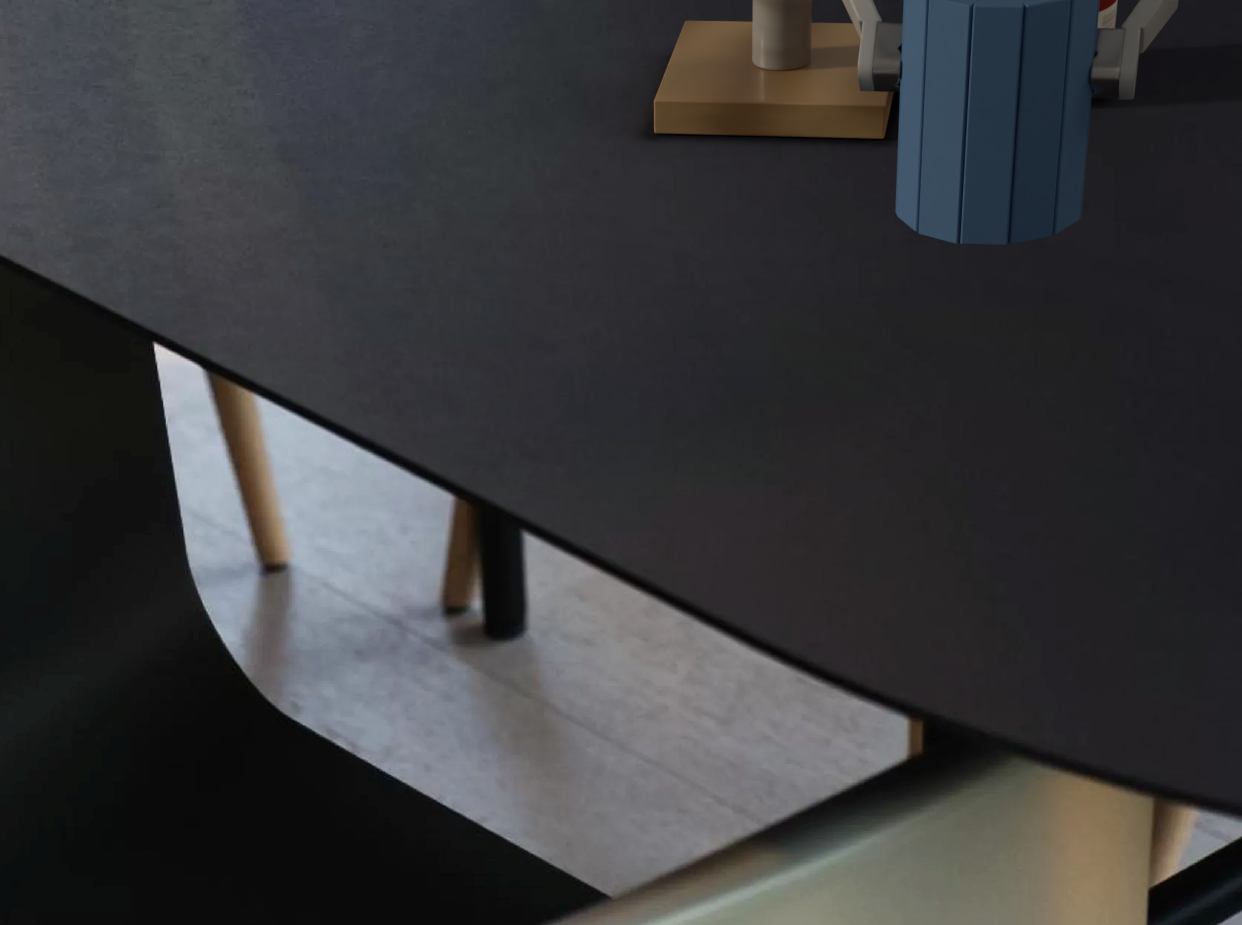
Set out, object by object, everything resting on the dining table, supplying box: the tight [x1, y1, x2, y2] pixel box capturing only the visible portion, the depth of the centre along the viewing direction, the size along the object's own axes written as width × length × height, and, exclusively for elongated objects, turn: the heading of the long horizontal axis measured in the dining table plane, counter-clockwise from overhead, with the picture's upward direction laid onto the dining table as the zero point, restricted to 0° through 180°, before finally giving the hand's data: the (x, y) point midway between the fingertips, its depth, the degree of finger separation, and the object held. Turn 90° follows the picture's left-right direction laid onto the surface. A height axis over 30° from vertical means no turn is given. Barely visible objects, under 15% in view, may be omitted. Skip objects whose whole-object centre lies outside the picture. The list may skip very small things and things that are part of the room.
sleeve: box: [895, 0, 1100, 246], centre depth 91 cm, size 6×6×8 cm
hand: (996, 88), depth 90 cm, fingers closed on sleeve, 6 cm apart
